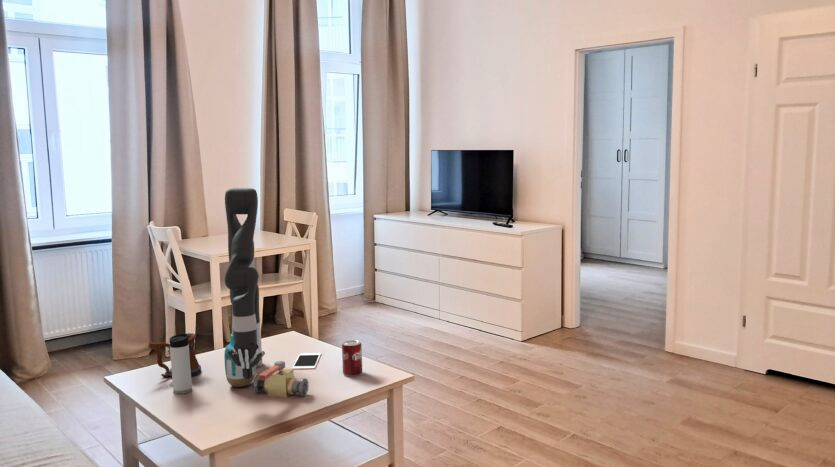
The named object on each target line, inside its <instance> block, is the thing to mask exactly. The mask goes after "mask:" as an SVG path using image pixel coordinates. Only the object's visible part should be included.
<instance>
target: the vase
mask: <svg viewBox="0 0 835 467" xmlns="http://www.w3.org/2000/svg"><path fill="white" fill-rule="evenodd" d="M234 344H235V343H234V337H233V332H232V333H231V334H230V343H229V344H228V345H226V346H225V349H224V357H223V358H224V369H225V370H224V371H225V376H226V380H227V383H228V384H229V385H231V386H232V387H235V388H242V387H246V386H249V385H251V384H252V383H254V379H255V377H256V368H255V366H254V367H252V373H253V375H252V377H251V378H250V379H244V377H243V371H242V367H241V366H237V365H236V364H235V362H234V361H233V359H232V358H231V357H230V355H229V354H228V351H230V350H232V349H233V348H234ZM254 359H255V355H254ZM254 359H253V361H254Z"/></svg>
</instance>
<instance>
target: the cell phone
mask: <svg viewBox="0 0 835 467" xmlns="http://www.w3.org/2000/svg"><path fill="white" fill-rule="evenodd" d="M321 356H322V353H321V352H302V353H299V354H298V356H297V358H296V360H295V361H294V364H293V365H292V366H291V369H293V371H294V370H295V371H296V370H315V369H316V368H317V365H318V363H319V360H320V358H321Z"/></svg>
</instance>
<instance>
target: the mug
mask: <svg viewBox="0 0 835 467" xmlns="http://www.w3.org/2000/svg"><path fill="white" fill-rule="evenodd" d="M186 334H187V335H188V344H189V356H190V369H191V377H195V376H198V375H199V374H200V373H201V371H202V366H201V365H200V364H199V361H198V359H197V357H196V351H195V344H196V343H195V340H196V333H190V332H188V333H186ZM160 347H164V348H165V347H167V348H168V350H167V353H168V354H169V356H170V357H171V355H170V343H168V342H153V341H150V342H148V348H150V349H152V348H153V349H154V351H155V352H156V354H157V356H156V357H157V358H156V361H157V366H158V367H159V368H163V369H165V372H164V373H161V374H160V375H161V377H163V378H169V377H172V368H171V367H170V368H169V366H168V365H166V364H165V363H164V362H163V354H162V353H163V352H162V351H161V349H160Z"/></svg>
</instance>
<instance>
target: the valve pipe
mask: <svg viewBox="0 0 835 467" xmlns="http://www.w3.org/2000/svg"><path fill="white" fill-rule="evenodd" d="M294 372H295V371H294V370H293V369H292V368H283V369H279V370H278V371H276V372H275V373H273V374H272V376H271V377H269V378H268V379H266V380H261V379H259V377H258V375H259V374H257V375H255V378H254V380H253V382H252V383H253V384H252V386H253V391H254V392H255V393H261V392H262V391H264V392H265V393H267V396H268V397H275V398H284V399H287V398H288V397H289V396H294V395H296V394H298V396H300V397H303V398H304V397H305V396H307V395H308V391H309V381H308V378H305V377H304V378H301V379H300V380H298V379H297V378H296V377H295V376H294Z"/></svg>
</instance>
